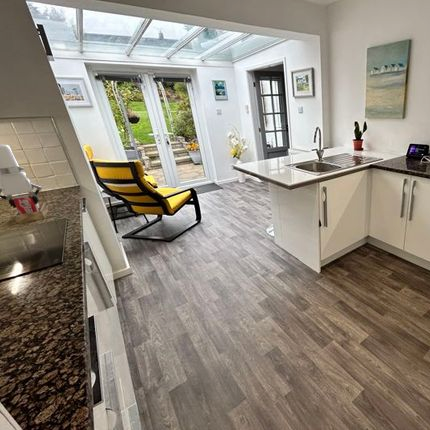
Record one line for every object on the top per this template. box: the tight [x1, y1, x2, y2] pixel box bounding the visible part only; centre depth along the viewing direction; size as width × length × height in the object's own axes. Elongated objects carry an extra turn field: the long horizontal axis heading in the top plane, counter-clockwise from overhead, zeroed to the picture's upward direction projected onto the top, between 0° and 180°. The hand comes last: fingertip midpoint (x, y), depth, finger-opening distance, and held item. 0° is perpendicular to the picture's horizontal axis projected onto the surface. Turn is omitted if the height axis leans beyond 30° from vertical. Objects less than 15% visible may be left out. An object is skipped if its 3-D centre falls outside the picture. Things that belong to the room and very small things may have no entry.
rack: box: [13, 202, 49, 225], centre depth 139 cm, size 10×19×5 cm, turn 41°
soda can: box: [13, 193, 39, 215], centre depth 134 cm, size 7×7×12 cm
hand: (26, 204), depth 134 cm, fingers closed on soda can, 7 cm apart
